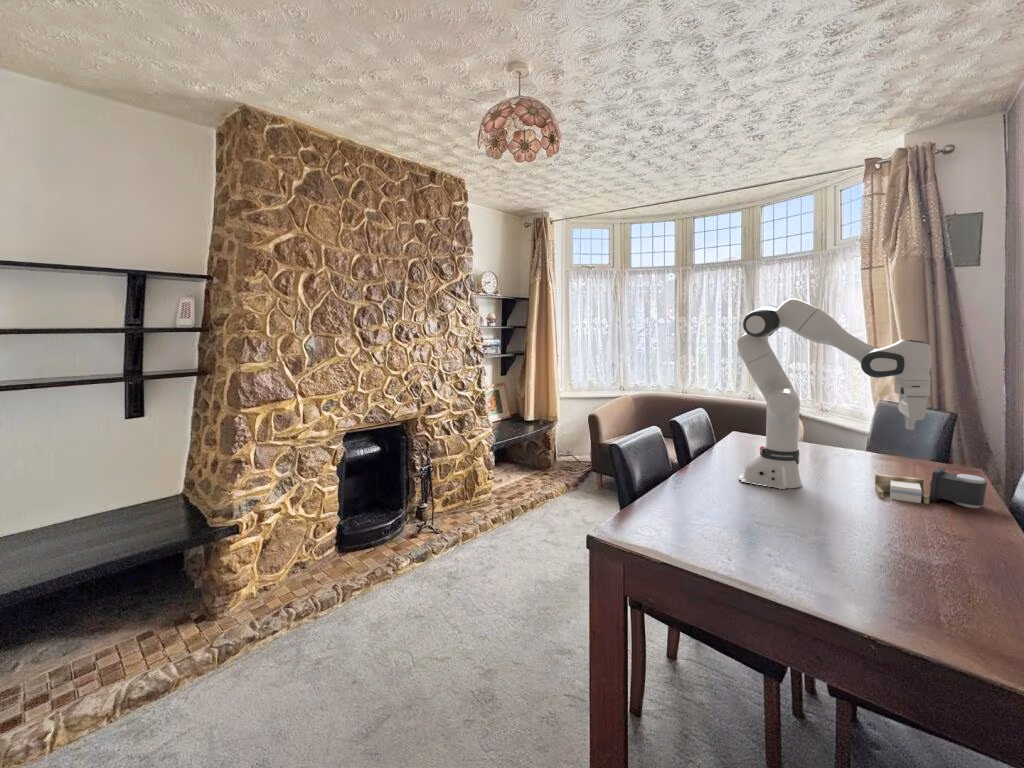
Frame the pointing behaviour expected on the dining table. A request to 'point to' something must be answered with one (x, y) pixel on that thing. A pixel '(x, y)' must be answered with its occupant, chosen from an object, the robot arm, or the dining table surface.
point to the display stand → (884, 480)
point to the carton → (905, 491)
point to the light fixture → (958, 488)
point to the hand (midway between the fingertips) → (909, 429)
